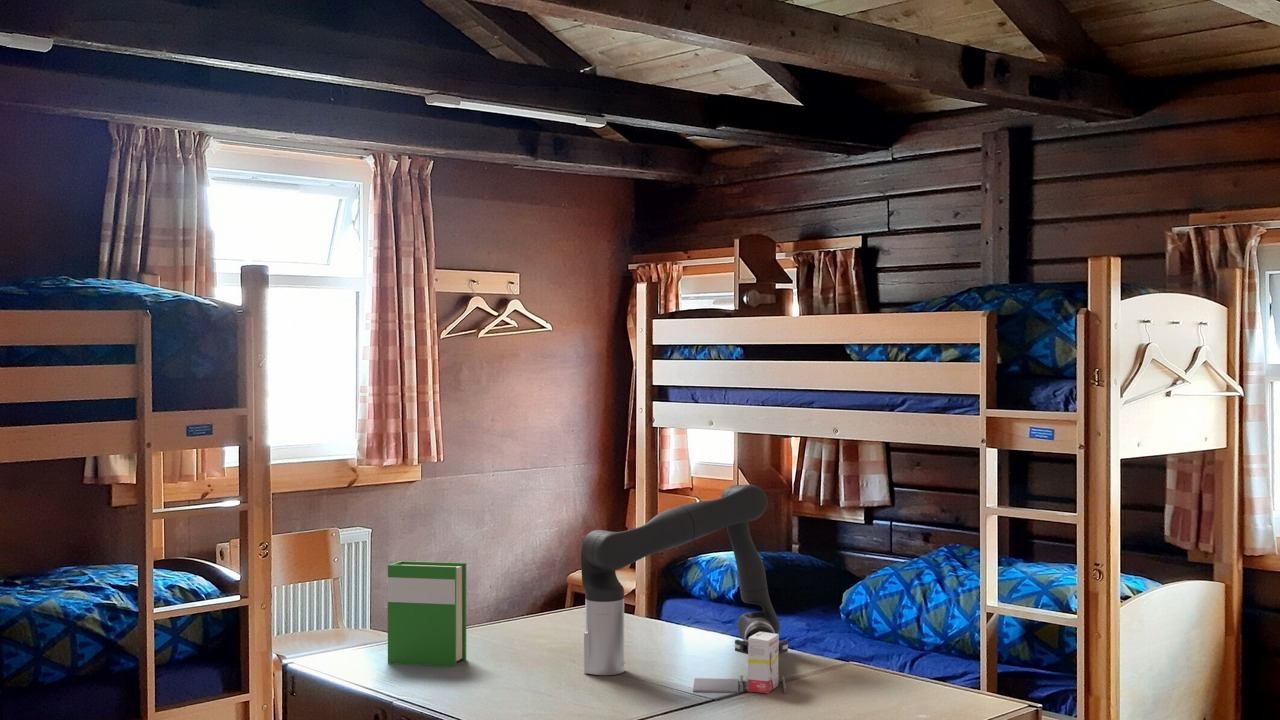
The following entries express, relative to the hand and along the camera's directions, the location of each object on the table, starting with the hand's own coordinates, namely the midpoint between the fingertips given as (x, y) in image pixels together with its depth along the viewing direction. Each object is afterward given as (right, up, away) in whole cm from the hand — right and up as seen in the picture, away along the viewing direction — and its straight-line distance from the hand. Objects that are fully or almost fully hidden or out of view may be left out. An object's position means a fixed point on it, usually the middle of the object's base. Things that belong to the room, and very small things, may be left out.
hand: (762, 653), depth 271 cm
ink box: (0, -7, -5) cm, 8 cm away
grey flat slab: (-5, -7, -3) cm, 9 cm away
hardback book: (-80, -8, +24) cm, 84 cm away
